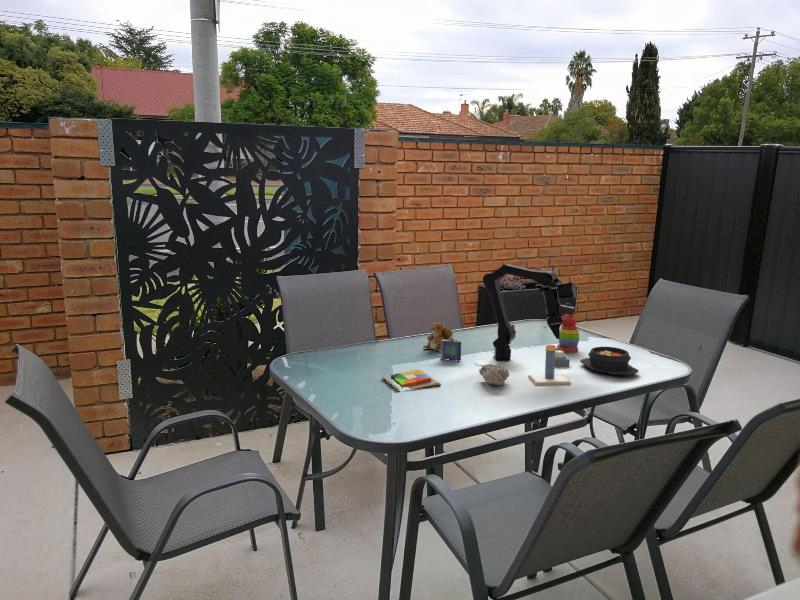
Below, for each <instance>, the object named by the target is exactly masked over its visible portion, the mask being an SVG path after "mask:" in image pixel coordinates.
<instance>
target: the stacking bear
mask: <svg viewBox="0 0 800 600" xmlns="http://www.w3.org/2000/svg"><path fill="white" fill-rule="evenodd" d="M562 320H563V323H562V324H561V326H560V336H559V339H558V344H557V345H556V350H560V351H564V354H571V353H572V354H573V352H574V353H578V352H579V347H578V345H579V342H580V331H579V328H578V326H577V325H576V324H577V321H578V318H577V316H576V314H574V313H573V316H571V315H568V314H564V315H562Z"/></svg>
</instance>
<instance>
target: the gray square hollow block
mask: <svg viewBox="0 0 800 600" xmlns="http://www.w3.org/2000/svg"><path fill="white" fill-rule="evenodd" d="M570 360H571V359H570V358H569V357H568V356H566V355H565V354H564V359H555V367H570Z"/></svg>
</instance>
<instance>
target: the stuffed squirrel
mask: <svg viewBox="0 0 800 600" xmlns="http://www.w3.org/2000/svg"><path fill="white" fill-rule="evenodd" d="M445 326H446V325H445V323H443V324H442V323H441V322H434V321H432V327H431V328H430V329H429V332H431V334H430V335H427V338H426V339H427V341H428V343H427V345H423V347H422V349H423V348H426V349H428V350H432V349H436V350H437V351H436V350H435V351H436V352H438V351H439V352H438V353H441V340H450V338H449V337H451V336H453V337H454V335H453V333H454V330H452V329H451V328H450V327H445Z"/></svg>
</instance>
